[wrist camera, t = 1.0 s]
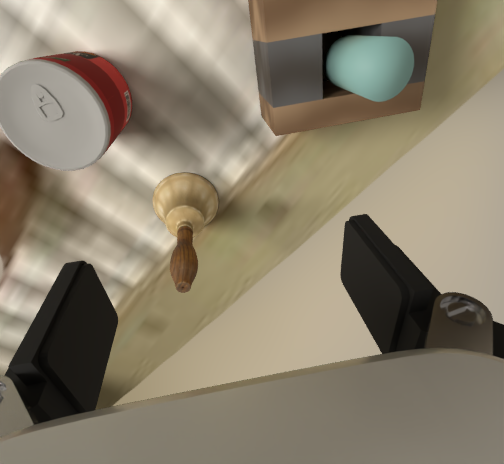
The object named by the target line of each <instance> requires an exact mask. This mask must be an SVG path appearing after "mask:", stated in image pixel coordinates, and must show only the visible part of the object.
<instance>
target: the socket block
mask: <svg viewBox="0 0 504 464" xmlns="http://www.w3.org/2000/svg"><path fill="white" fill-rule="evenodd" d="M248 2H249V11H250V20H251V28H252V37H253V46H254V54H255V63H256V72H257V80H258V89H259V98H260V106H261V115H262V117H263V119H264V120H265V122H266V123H267V124H268V126H269V127H270V128H271V130H272V131H273V133H274V134H275V135H276V136H279V135H284V134H290V133H295V132H301V131H306V130H312V129H317V128H323V127H328V126H334V125H339V124H345V123H350V122H356V121H361V120H367V119H372V118H378V117H383V116H389V115H394V114H400V113H405V112H411V111H416V110H420V107H421V101H422V94H423V88H424V82H425V76H426V69H427V63H428V57H429V50H430V44H431V38H432V31H433V25H434V19H435V13H436V6H437V0H248ZM339 30H344V36H347V35H361V36H388V37H399V38H402V39H404V40H405V41H406V42H407V43H408V44H409V45H410V46H411V48H412V51H413V54H414V68H413V72H412V75H411V77H410V80H409V81H408V83H407V85H406V86H405V87H404V89H403V90H402V91H401V92H400V93H399V94H398V95H396V96H395V97H393V98H391V99H389V100H387V101H382V102H376V101H372V100H369V99H367V98H364V97H362V96H360V95H357V94H355V93H352V92H350V91H347V90H345V89H343V88H340V87H338V86H335V85H333V84H332V83H331V82H330V81H323V82H322V33H327V32H333V31H339Z"/></svg>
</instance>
